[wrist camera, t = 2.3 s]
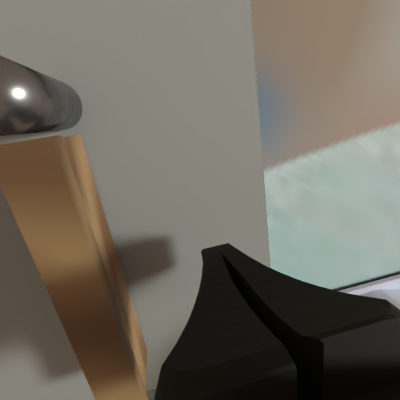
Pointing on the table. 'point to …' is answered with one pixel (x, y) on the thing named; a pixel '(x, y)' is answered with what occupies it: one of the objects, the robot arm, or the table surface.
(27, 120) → the hinge post
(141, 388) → the brown rectangular bar
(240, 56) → the mat
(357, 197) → the table surface
